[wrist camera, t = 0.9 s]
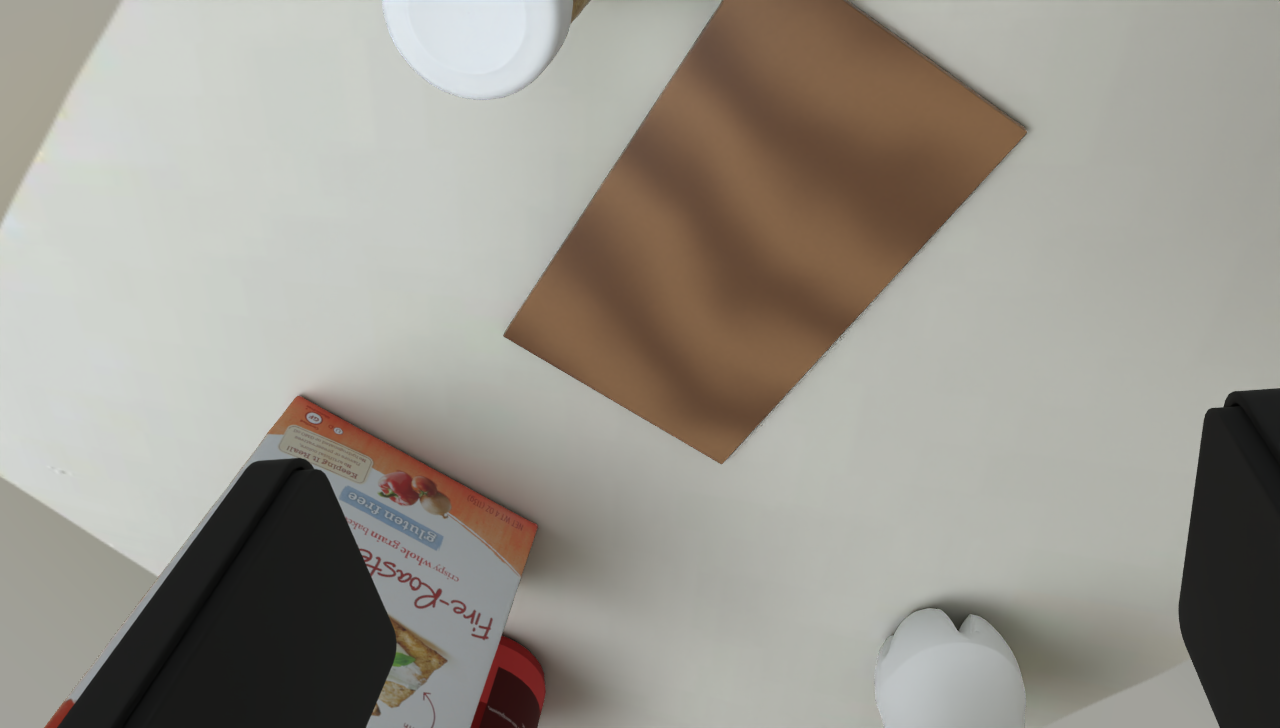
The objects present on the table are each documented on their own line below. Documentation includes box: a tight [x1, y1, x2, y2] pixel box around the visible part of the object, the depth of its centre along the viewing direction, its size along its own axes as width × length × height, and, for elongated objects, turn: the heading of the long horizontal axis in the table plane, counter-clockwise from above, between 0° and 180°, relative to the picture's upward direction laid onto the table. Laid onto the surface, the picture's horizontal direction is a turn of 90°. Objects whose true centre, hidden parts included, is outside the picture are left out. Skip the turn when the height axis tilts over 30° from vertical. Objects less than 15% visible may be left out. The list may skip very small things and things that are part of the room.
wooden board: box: [503, 0, 1027, 464], centre depth 41 cm, size 20×12×1 cm, turn 148°
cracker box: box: [44, 396, 538, 728], centre depth 43 cm, size 14×6×21 cm, turn 59°
